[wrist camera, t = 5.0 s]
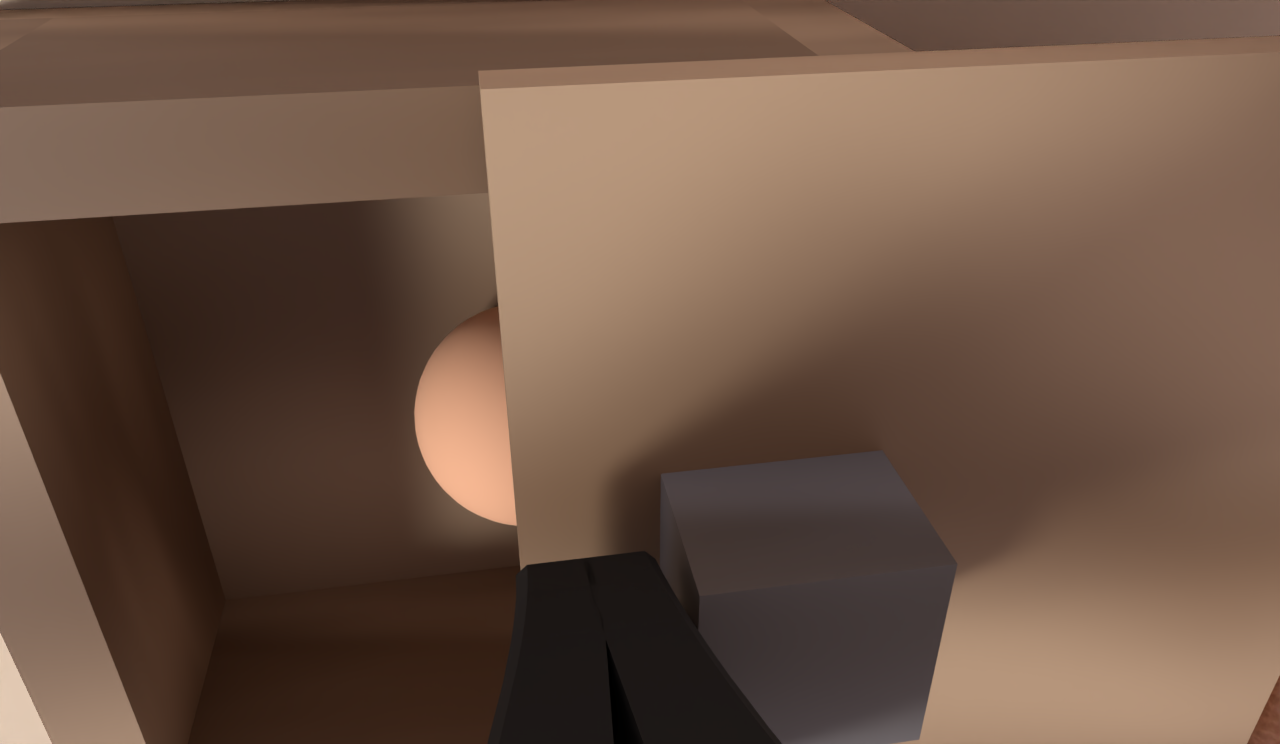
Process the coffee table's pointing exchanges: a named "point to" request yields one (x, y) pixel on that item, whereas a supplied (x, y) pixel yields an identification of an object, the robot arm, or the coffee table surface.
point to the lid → (914, 374)
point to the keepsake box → (270, 351)
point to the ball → (468, 419)
